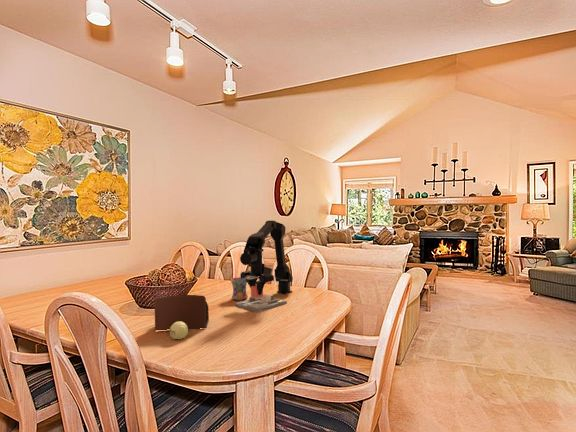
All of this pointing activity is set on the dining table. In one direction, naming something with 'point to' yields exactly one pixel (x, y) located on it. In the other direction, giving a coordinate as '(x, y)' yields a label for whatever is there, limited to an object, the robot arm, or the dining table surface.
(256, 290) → the red block
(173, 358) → the dining table surface
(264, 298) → the switch
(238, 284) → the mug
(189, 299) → the letter holder
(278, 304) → the breaker panel
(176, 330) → the tennis ball
